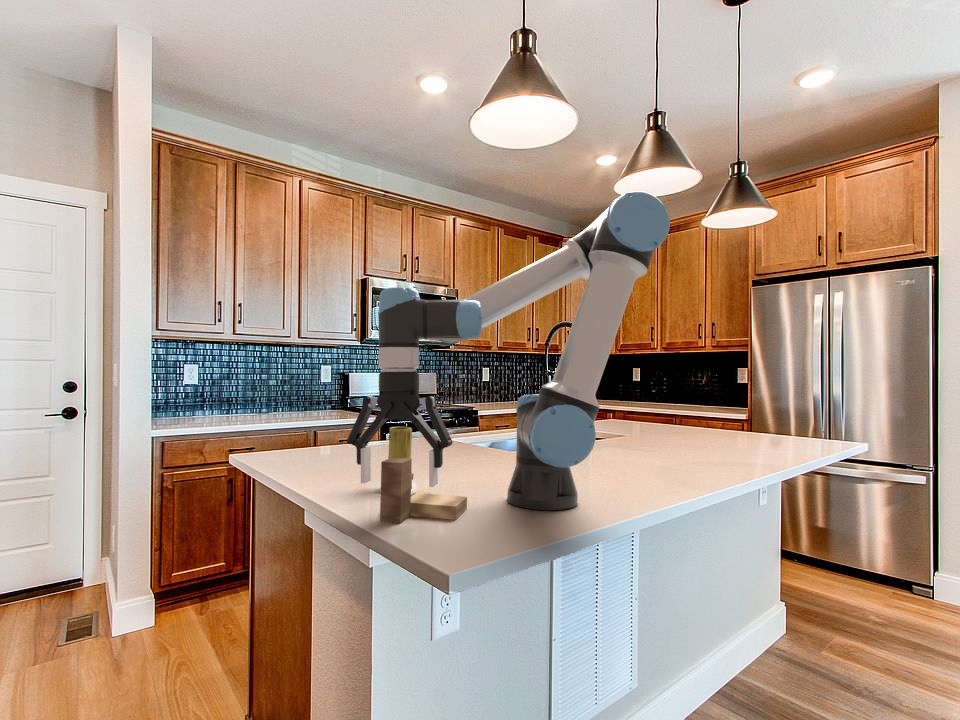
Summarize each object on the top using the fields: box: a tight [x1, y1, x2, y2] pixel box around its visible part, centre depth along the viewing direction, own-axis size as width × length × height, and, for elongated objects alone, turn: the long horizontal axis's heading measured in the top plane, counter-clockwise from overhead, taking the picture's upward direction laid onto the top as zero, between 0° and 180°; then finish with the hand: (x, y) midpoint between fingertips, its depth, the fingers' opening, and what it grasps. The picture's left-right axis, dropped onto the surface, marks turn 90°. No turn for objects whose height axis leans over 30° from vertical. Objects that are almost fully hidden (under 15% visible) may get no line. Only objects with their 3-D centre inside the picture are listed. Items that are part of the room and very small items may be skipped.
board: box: [410, 491, 468, 521], centre depth 104 cm, size 14×8×3 cm, turn 76°
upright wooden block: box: [379, 458, 415, 525], centre depth 101 cm, size 4×10×11 cm, turn 166°
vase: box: [387, 426, 413, 490], centre depth 124 cm, size 6×6×14 cm
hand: (399, 483), depth 99 cm, fingers open, 13 cm apart
